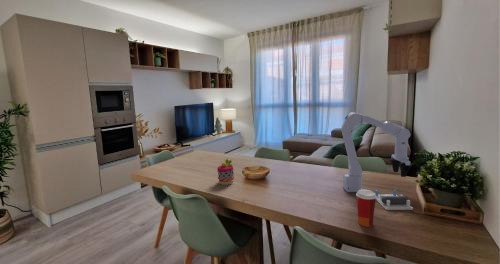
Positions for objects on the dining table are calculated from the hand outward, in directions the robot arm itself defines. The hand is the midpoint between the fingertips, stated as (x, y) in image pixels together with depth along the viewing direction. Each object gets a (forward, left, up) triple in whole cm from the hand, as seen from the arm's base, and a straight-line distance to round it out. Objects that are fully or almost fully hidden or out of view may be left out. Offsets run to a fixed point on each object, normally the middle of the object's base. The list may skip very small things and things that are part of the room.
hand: (399, 174), depth 129 cm
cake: (-99, +18, -10) cm, 101 cm away
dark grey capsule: (-10, -16, -9) cm, 21 cm away
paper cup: (-30, -32, -10) cm, 45 cm away
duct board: (-10, -13, -10) cm, 19 cm away
